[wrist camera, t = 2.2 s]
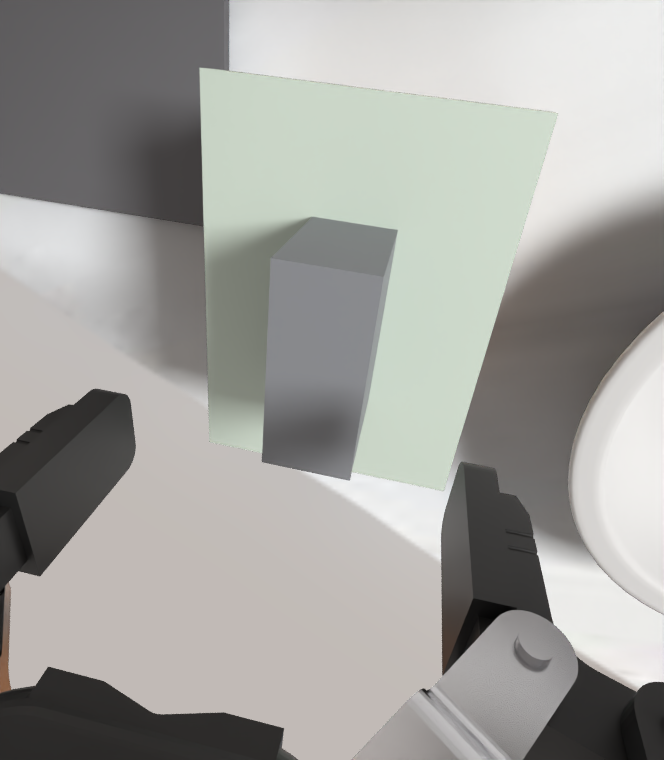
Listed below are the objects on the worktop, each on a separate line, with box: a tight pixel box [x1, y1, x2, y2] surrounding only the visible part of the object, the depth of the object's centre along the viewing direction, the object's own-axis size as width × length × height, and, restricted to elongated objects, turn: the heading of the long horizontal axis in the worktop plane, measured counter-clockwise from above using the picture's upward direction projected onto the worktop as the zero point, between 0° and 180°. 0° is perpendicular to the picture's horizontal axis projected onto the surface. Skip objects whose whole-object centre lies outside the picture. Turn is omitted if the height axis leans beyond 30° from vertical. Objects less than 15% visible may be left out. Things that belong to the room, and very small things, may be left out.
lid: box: [199, 68, 558, 491], centre depth 18 cm, size 15×11×7 cm
